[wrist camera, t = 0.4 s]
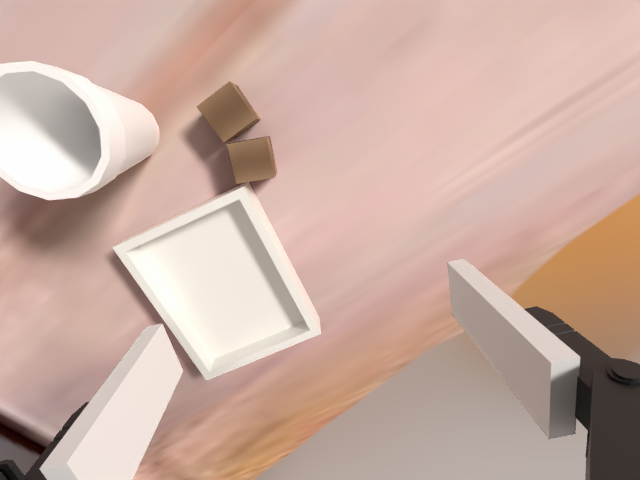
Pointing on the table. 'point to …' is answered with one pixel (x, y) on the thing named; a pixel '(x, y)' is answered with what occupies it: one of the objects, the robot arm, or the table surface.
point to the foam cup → (67, 132)
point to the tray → (222, 282)
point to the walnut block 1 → (228, 112)
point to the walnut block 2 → (252, 159)
